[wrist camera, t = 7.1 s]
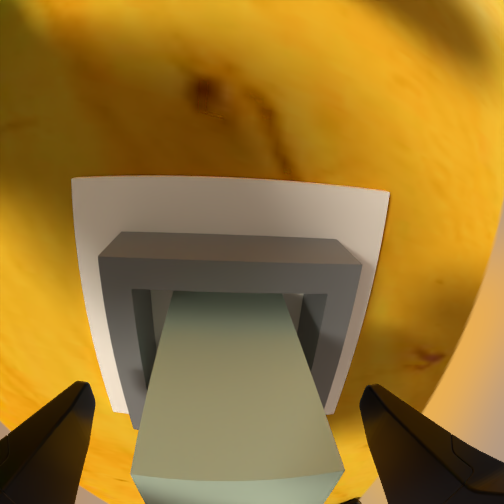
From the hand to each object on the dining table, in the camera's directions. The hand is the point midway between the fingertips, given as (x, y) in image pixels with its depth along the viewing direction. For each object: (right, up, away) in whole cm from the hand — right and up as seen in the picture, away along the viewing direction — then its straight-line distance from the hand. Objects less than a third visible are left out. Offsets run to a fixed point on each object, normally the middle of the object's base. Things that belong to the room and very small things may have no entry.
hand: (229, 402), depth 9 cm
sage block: (0, +1, +4) cm, 4 cm away
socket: (0, +2, +4) cm, 4 cm away
